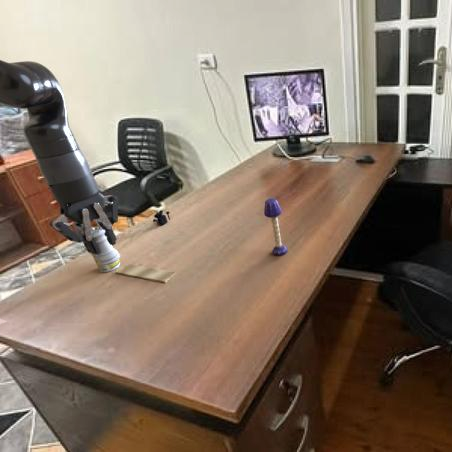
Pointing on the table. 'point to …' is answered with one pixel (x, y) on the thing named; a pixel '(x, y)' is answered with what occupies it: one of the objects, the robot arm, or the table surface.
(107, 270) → the supplement bottle
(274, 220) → the toy lamp
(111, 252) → the rook chess piece
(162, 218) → the wireless earbuds
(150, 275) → the strip
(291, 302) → the table surface
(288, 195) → the table surface
